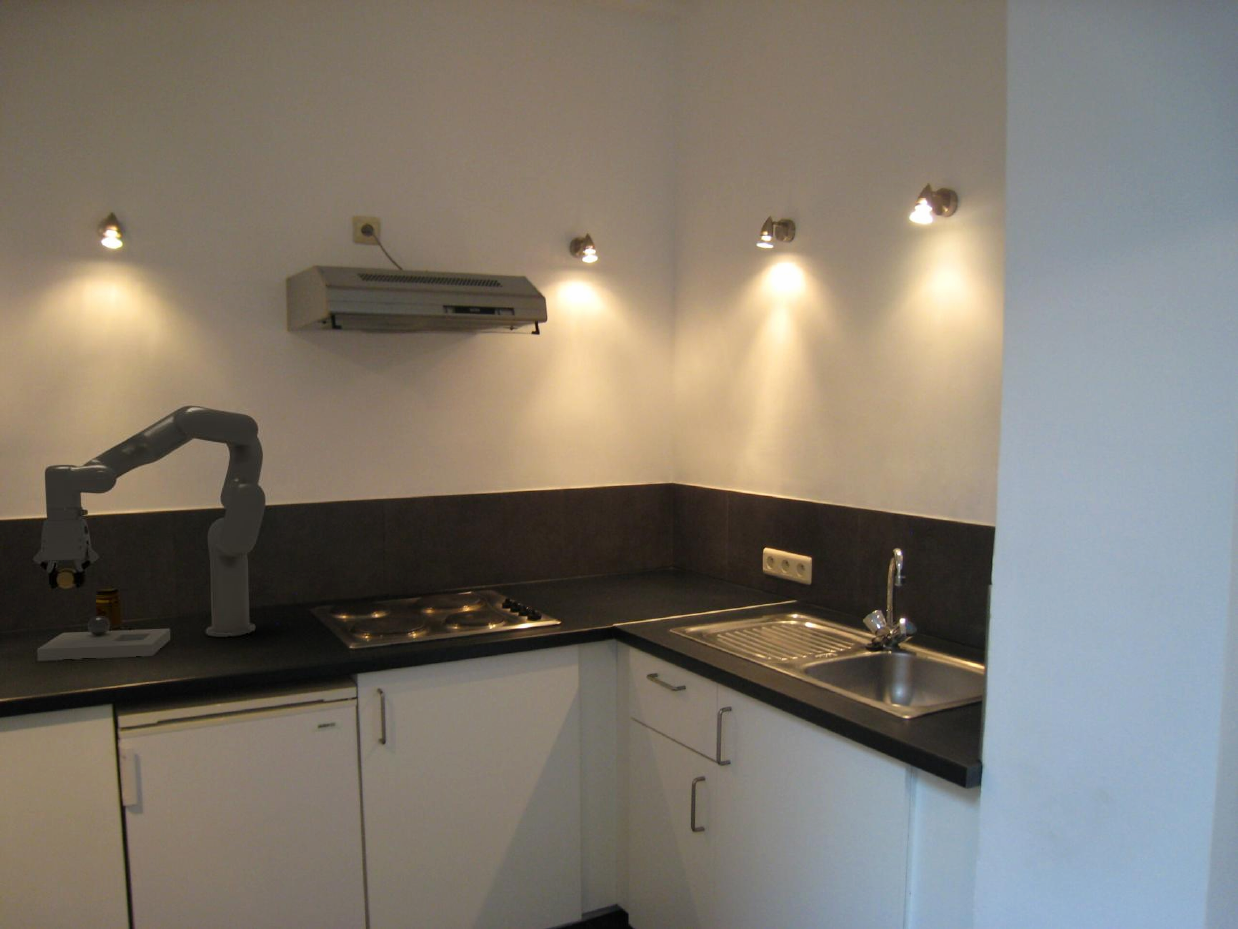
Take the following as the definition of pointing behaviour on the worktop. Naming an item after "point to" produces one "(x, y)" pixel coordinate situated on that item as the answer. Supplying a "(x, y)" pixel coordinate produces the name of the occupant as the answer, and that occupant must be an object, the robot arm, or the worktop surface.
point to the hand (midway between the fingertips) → (67, 586)
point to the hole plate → (104, 644)
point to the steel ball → (98, 625)
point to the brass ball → (66, 578)
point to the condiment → (109, 607)
